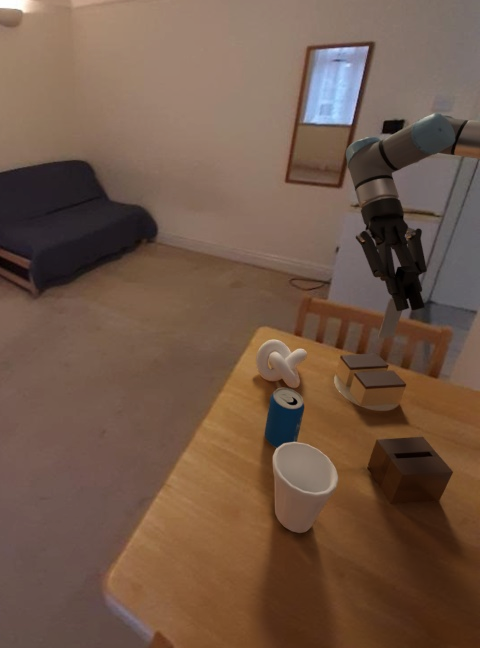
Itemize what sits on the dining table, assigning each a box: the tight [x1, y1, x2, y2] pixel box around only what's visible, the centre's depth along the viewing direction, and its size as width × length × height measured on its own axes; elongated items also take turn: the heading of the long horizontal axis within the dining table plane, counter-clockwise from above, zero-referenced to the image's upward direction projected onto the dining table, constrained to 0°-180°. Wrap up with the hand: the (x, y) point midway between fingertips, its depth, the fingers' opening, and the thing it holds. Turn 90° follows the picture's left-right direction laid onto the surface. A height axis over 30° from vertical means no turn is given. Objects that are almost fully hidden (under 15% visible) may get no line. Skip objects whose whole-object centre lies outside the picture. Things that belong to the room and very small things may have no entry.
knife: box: [377, 266, 417, 339], centre depth 85 cm, size 3×2×17 cm
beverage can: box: [264, 387, 305, 448], centre depth 84 cm, size 6×6×12 cm
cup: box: [272, 441, 339, 534], centre depth 69 cm, size 10×10×13 cm
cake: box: [335, 352, 407, 407], centre depth 96 cm, size 9×11×6 cm
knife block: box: [366, 436, 454, 505], centre depth 75 cm, size 9×7×8 cm
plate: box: [333, 374, 400, 412], centre depth 98 cm, size 14×14×1 cm
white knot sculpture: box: [255, 339, 308, 389], centre depth 102 cm, size 11×12×9 cm
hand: (410, 309), depth 81 cm, fingers closed on knife, 2 cm apart
